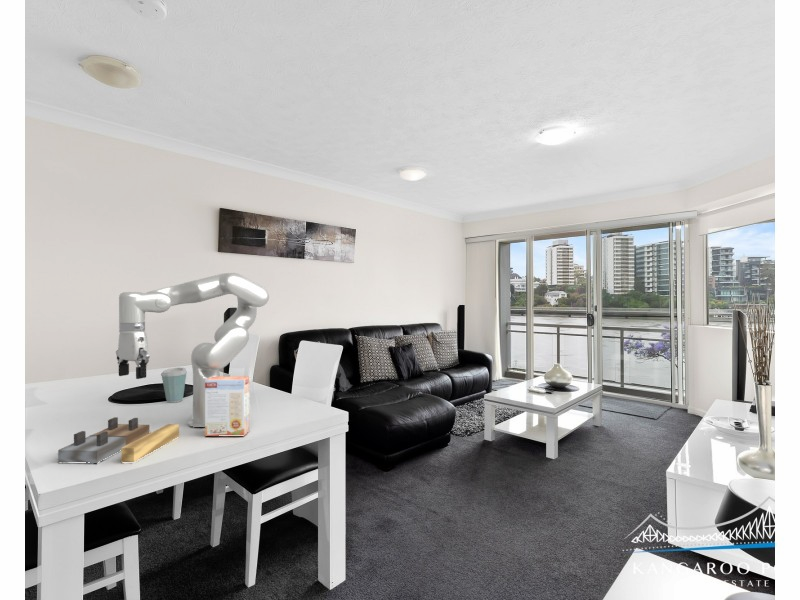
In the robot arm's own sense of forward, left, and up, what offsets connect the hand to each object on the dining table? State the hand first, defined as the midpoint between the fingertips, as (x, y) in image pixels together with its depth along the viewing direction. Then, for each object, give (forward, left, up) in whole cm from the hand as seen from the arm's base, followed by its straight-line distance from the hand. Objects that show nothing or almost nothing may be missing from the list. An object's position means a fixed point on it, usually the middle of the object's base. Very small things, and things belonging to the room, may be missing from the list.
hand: (132, 376), depth 141 cm
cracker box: (-30, -7, -22) cm, 38 cm away
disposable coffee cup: (+15, -49, -22) cm, 56 cm away
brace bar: (-12, +8, -22) cm, 27 cm away
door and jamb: (+3, +8, -22) cm, 24 cm away
